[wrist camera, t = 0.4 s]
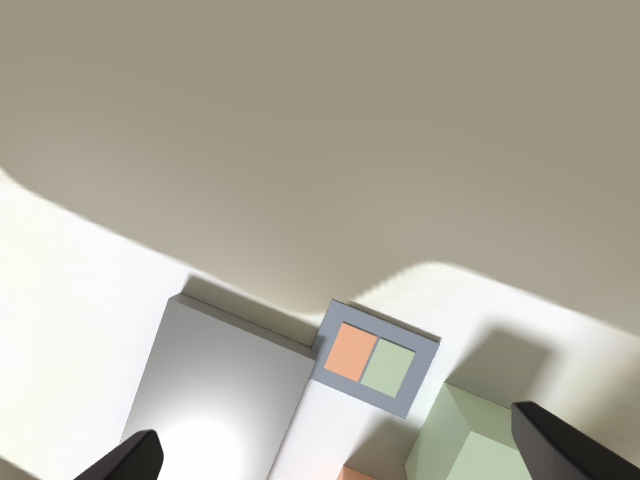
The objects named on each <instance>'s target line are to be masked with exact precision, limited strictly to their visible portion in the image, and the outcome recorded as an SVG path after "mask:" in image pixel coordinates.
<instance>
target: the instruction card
mask: <svg viewBox="0 0 640 480" xmlns="http://www.w3.org/2000/svg"><path fill="white" fill-rule="evenodd" d="M439 345H440V344H439V343H438V342H436V341H434V340H431V339H429V338H426V337H424V336H422V335H419V334H417V333H414V332H412V331H409V330H407V329H405V328H402V327H400V326H397V325H395V324H392V323H390V322H388V321H385V320H383V319H380V318H378V317H375V316H373V315H371V314H368V313H366V312H363V311H361V310H359V309H356V308H354V307H351V306H349V305H346V304H344V303H341V302H339V301H337V300H334V299H331V302H330V304H329V307H328V309H327V312H326V314H325V316H324V319H323V321H322V324H321V326H320V329H319V331H318V333H317V336H316V338H315V341H314V343H313V346H312V348H311V350H312V351H314V352H317V357H316V361H315V364H314V366H313V368H312V371H311V373H310V376H309V378H311V379H313V380H315V381H318V382H320V383H322V384H325V385H327V386H329V387H332V388H334V389H336V390H339V391H341V392H343V393H346V394H348V395H350V396H353V397H355V398H357V399H360V400H362V401H364V402H367V403H369V404H371V405H374V406H376V407H378V408H381V409H383V410H385V411H388V412H390V413H392V414H395V415H397V416H399V417H402V418H404V419H405V418H406V416H407V414H408V411H409V409H410V407H411V405H412V403H413V401H414V399H415V396H416V394H417V392H418V390H419V388H420V386H421V384H422V382H423V379H424V377H425V375H426V373H427V371H428V369H429V367H430V364H431V362H432V360H433V358H434V356H435V354H436V352H437V350H438V347H439Z"/></svg>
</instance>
